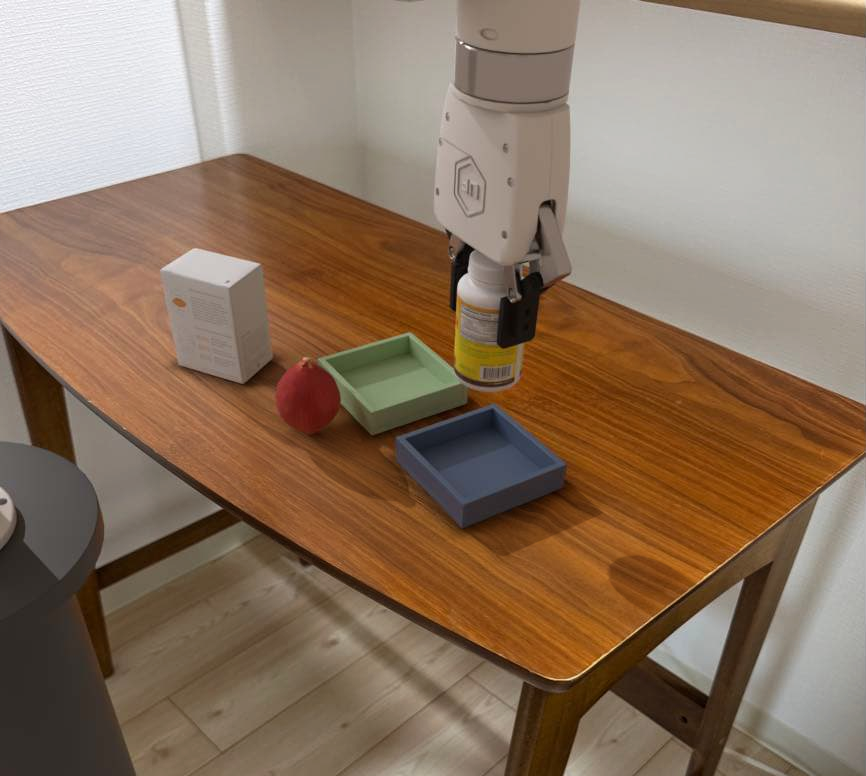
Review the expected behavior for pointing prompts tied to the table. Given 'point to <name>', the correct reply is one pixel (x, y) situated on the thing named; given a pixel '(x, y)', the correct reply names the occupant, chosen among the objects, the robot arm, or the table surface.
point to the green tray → (394, 382)
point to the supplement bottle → (483, 329)
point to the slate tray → (479, 464)
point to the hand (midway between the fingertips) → (491, 322)
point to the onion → (307, 397)
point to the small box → (218, 314)
